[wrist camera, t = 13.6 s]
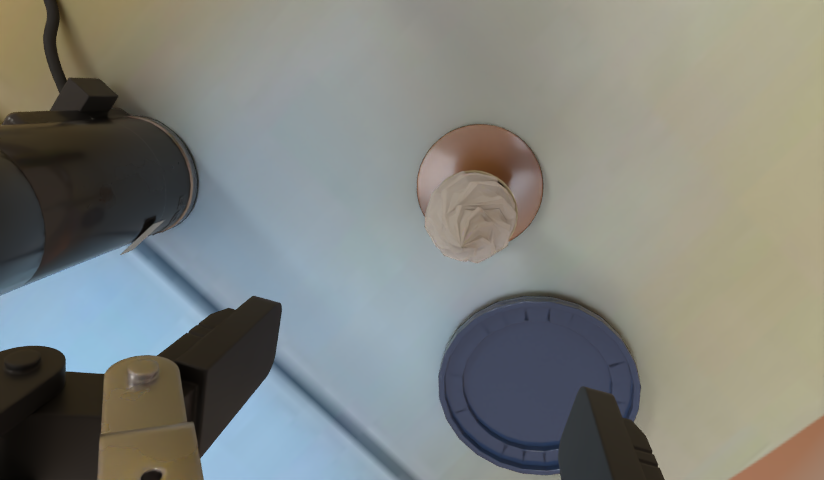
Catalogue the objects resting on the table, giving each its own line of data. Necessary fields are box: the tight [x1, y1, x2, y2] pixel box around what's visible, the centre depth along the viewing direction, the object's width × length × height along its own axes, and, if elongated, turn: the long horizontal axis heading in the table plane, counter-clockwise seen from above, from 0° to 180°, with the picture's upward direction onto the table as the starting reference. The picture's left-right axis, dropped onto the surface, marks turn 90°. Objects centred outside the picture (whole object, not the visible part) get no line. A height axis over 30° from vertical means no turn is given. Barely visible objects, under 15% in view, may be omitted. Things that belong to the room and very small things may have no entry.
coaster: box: [417, 124, 543, 242], centre depth 37 cm, size 9×9×1 cm
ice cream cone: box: [425, 170, 518, 263], centre depth 29 cm, size 5×5×15 cm
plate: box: [439, 296, 641, 475], centre depth 40 cm, size 15×15×2 cm
